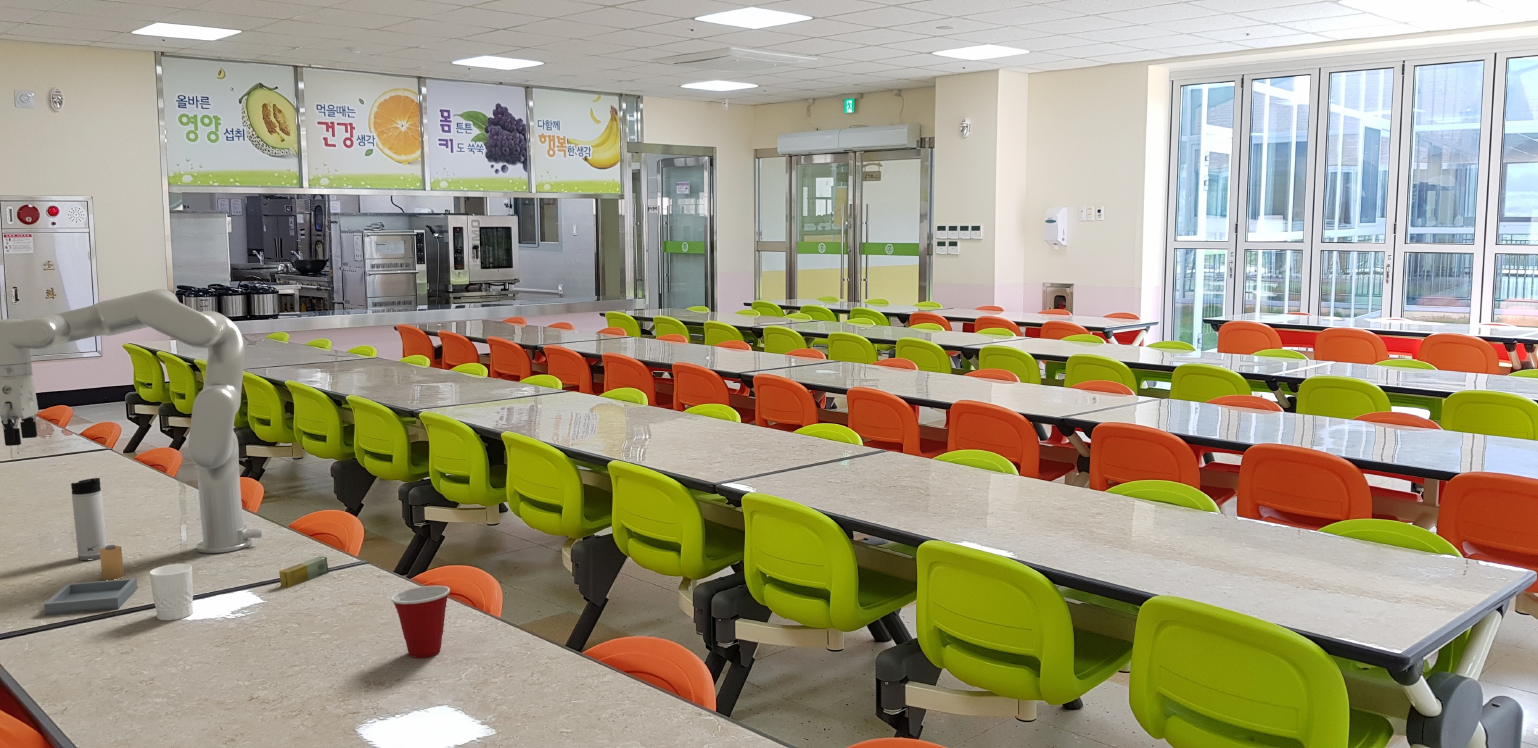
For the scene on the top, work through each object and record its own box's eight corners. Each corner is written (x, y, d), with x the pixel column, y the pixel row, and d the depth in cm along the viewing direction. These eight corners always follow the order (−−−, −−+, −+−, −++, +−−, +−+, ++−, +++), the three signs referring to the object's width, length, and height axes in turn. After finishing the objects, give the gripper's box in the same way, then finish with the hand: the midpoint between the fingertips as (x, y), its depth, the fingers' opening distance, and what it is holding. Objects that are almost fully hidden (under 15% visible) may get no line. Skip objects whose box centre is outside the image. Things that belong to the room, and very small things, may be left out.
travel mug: (95, 561, 280) (87, 481, 278) (72, 560, 282) (64, 481, 279) (114, 554, 286) (107, 476, 284) (92, 553, 288) (84, 475, 285)
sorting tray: (137, 588, 259) (136, 578, 258) (118, 608, 245) (117, 597, 245) (68, 594, 255) (67, 583, 255) (45, 615, 242) (44, 604, 241)
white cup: (149, 623, 236) (145, 576, 234) (159, 611, 243) (154, 565, 242) (191, 619, 238) (187, 573, 236) (199, 607, 245) (195, 562, 244)
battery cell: (126, 574, 270) (123, 542, 269) (120, 579, 266) (117, 547, 265) (105, 575, 269) (102, 544, 268) (99, 581, 265) (96, 549, 264)
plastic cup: (431, 637, 225) (428, 578, 223) (465, 650, 218) (461, 589, 216) (382, 654, 217) (378, 593, 215) (415, 667, 210) (411, 604, 208)
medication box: (320, 572, 269) (319, 555, 269) (329, 573, 268) (327, 556, 268) (279, 587, 258) (278, 570, 258) (288, 589, 257) (287, 571, 257)
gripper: (16, 374, 265) (24, 447, 267) (44, 365, 282) (52, 433, 284) (-21, 376, 263) (-12, 449, 266) (10, 367, 280) (18, 436, 283)
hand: (21, 441), depth 275 cm, fingers open, 9 cm apart
